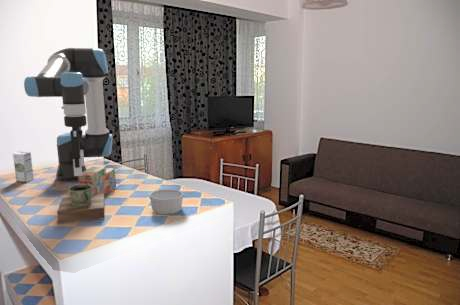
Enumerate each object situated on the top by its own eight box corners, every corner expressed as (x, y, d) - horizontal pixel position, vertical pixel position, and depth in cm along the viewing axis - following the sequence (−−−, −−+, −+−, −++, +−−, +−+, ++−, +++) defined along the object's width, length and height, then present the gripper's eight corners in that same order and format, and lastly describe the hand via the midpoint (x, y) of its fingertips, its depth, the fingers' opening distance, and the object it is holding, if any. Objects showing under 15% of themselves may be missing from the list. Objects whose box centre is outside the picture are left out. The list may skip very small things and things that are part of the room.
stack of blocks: (104, 186, 176) (102, 161, 173) (116, 186, 175) (114, 162, 172) (79, 201, 155) (77, 173, 153) (93, 202, 154) (91, 174, 152)
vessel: (63, 201, 142) (61, 186, 141) (84, 196, 149) (83, 181, 147) (79, 209, 135) (78, 193, 133) (100, 203, 141) (99, 187, 140)
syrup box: (34, 179, 185) (31, 151, 182) (26, 182, 179) (23, 153, 176) (24, 178, 186) (20, 150, 182) (15, 181, 180) (12, 153, 177)
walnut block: (63, 209, 148) (62, 197, 147) (104, 205, 153) (103, 194, 152) (58, 225, 133) (57, 212, 132) (104, 220, 138) (103, 207, 137)
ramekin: (168, 201, 156) (168, 186, 155) (190, 209, 148) (190, 193, 146) (143, 210, 146) (142, 194, 145) (164, 219, 138) (164, 202, 136)
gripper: (67, 111, 144) (71, 162, 149) (59, 120, 121) (65, 181, 126) (87, 110, 147) (91, 161, 152) (83, 119, 124) (88, 179, 129)
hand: (79, 170), depth 139 cm, fingers open, 13 cm apart
